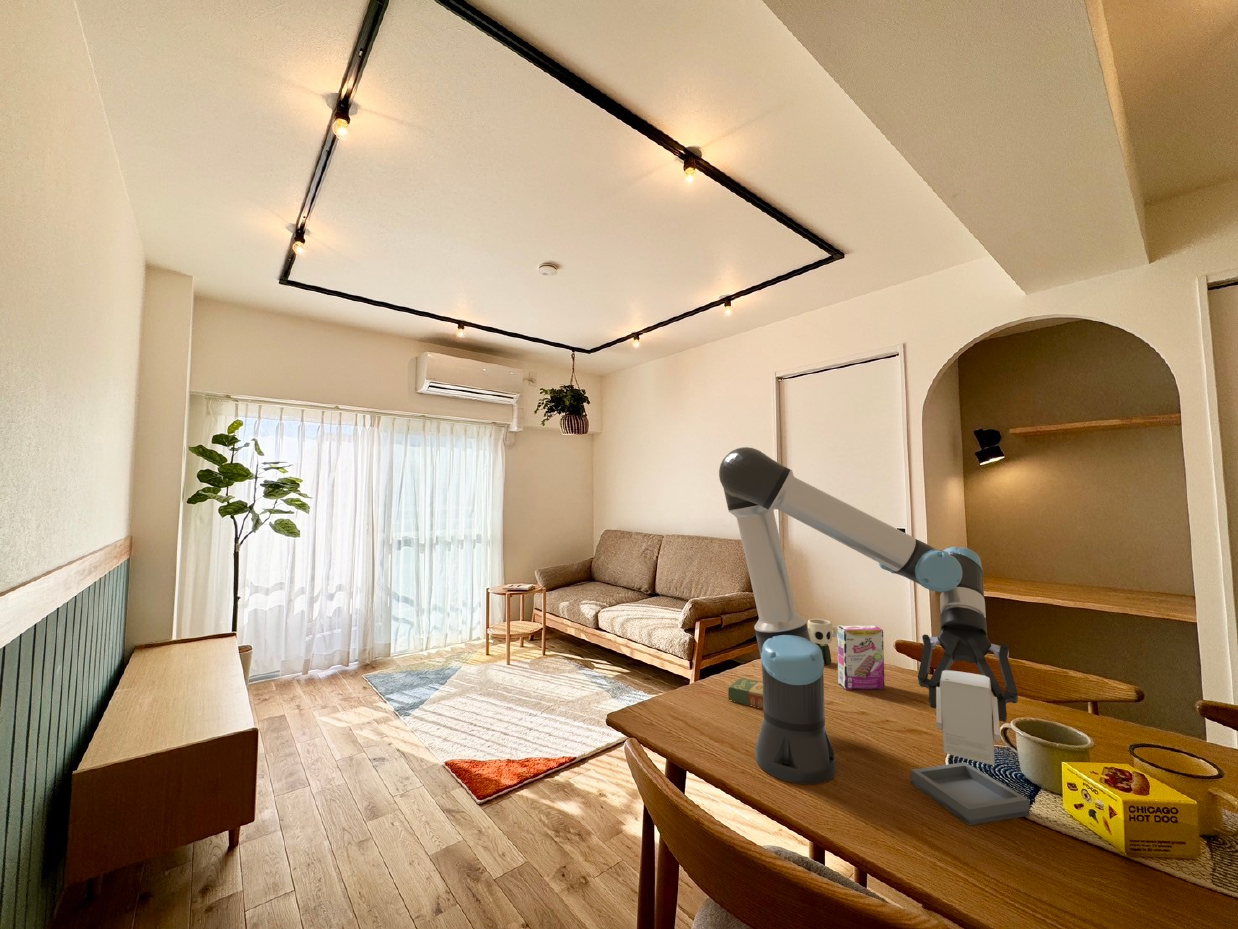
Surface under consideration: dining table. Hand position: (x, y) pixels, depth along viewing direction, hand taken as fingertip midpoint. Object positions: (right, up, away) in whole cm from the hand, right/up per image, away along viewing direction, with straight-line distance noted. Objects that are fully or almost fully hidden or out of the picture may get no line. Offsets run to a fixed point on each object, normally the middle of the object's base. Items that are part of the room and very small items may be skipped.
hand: (967, 731), depth 85 cm
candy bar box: (+8, -17, +53) cm, 57 cm away
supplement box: (+2, -5, +3) cm, 6 cm away
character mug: (+5, -18, +74) cm, 76 cm away
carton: (-22, -16, +43) cm, 51 cm away
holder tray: (+1, -13, +2) cm, 13 cm away
